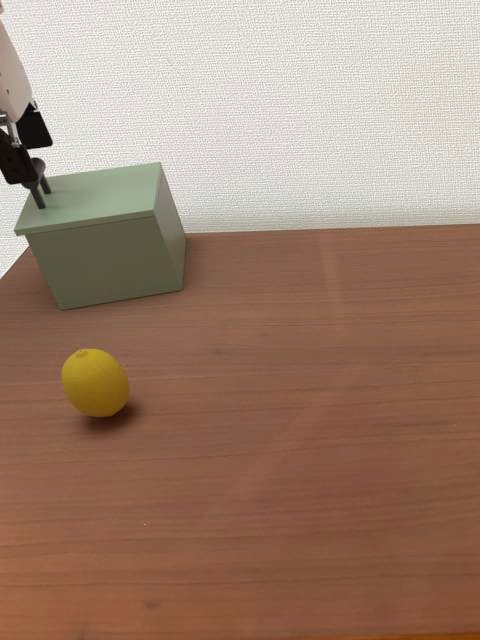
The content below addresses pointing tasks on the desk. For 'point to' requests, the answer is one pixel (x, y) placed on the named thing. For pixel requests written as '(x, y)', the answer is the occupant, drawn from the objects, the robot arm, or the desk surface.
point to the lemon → (95, 382)
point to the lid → (89, 197)
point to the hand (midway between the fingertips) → (32, 163)
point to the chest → (114, 257)
